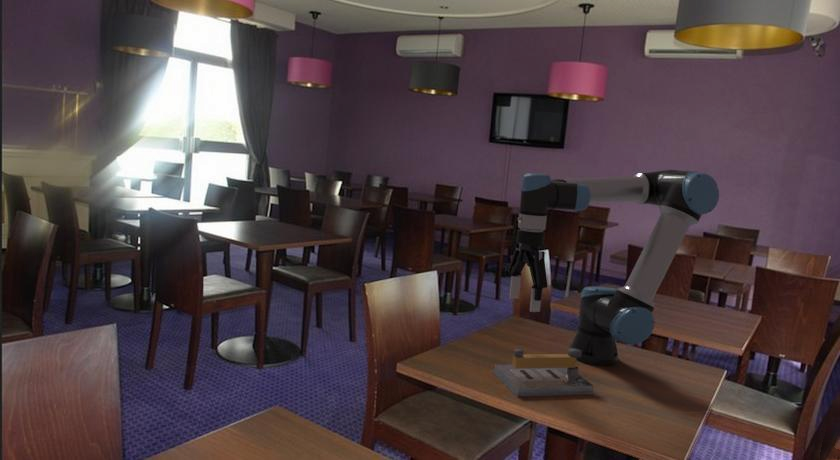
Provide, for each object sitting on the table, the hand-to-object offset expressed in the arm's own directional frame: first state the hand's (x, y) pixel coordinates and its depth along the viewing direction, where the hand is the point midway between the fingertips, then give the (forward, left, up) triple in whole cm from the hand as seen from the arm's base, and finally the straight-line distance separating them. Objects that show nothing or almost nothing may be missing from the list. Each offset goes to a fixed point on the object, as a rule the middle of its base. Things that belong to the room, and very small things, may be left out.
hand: (523, 304), depth 168 cm
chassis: (-5, +7, -20) cm, 22 cm away
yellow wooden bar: (-5, +7, -15) cm, 18 cm away
